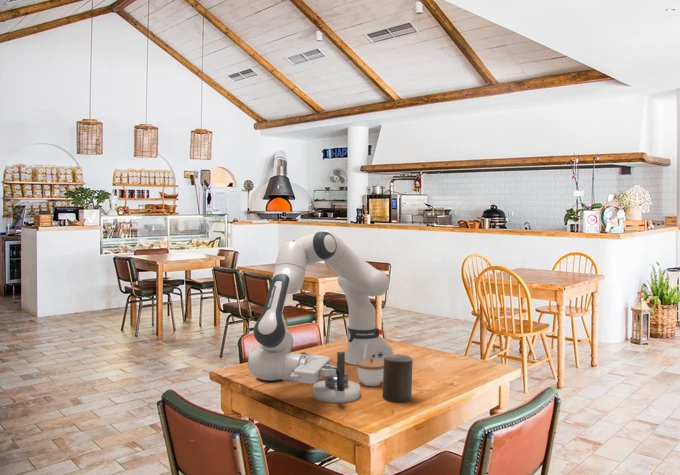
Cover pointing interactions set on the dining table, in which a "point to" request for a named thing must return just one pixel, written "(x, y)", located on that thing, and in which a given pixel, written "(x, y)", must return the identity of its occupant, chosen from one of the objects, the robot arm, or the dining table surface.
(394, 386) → the pillar candle
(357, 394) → the light grey round disc
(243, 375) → the dining table surface
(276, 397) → the dining table surface
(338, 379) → the saucepan with upright handle
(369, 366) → the lidded jar
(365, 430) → the dining table surface
